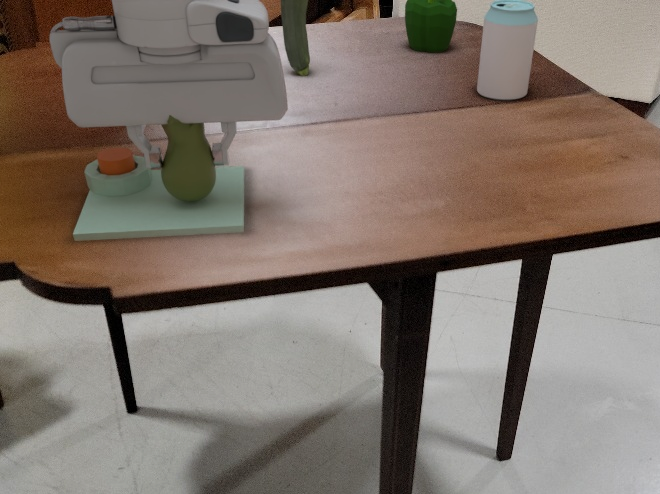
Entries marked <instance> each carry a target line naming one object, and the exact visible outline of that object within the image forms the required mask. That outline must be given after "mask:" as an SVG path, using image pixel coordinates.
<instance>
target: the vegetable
mask: <svg viewBox="0 0 660 494" xmlns="http://www.w3.org/2000/svg"><path fill="white" fill-rule="evenodd" d="M308 3H309V0H280V16H281V17H280V18H281V25H282V36H283V45H284V49H285V53H286V57H287V61H288V63H289V66H290V67H291V69H293V70H294V71H295V72H296V74H299V75H300V76H301V77H305V76H308V74H309V71H310V63H311V56H310V55H311V54H310V49H309V39H308V31H307V9H308V5H309V4H308Z"/></svg>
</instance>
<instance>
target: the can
mask: <svg viewBox="0 0 660 494" xmlns="http://www.w3.org/2000/svg"><path fill="white" fill-rule="evenodd" d="M489 6H490V8H489V9H488V10H487V12H486V13H485V14H484V16H483V25H482V33H481V34H482V35H481V45H480V56H479V63H478V65H479V66H478V75H477V83H476V92H477V93H478V94H479V95H480V96H482V97H483V98H485V99H490V100H494V101H514V100H515V101H516V100H520V99H523V98H524V97H526V96H527V94H528V92H529V91H528V89H529V83H530V76H531V69H532V64H533V63H532V62H533V58H534V57H533V56H534V49H535V43H536V36H537V29H538V21H539V19H538V16H537V14H536V11H535V8H536V5H535V4H534V3H533V2H530V1H528V0H493V1H492V2H490V5H489Z"/></svg>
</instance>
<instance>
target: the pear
mask: <svg viewBox="0 0 660 494" xmlns="http://www.w3.org/2000/svg"><path fill="white" fill-rule="evenodd" d="M167 123H168V124H164V125H161V127H162V130H163V132H164V133H165V135H166V137H167V146H166V150H165V153H164V156H163V164H162V168H160V170H161V178H162V182H163V184H164V186H165V188H166V190H167V191H168V192H169V193H170V194H171V195H172V196H173V197H175V198H176V199H179V200H182V201H187V202H192V201H198V200H201V199H203V198H204V197H206V196H207V195H208V194H209V193H210V192H211V191H212V189H213V187H214V185H215V181H216V169H215V167H216V166H214V163H213V159H214V157H213V155H212V148H211V144H210V142H209V140H208V139H207V136H206V132H205V130H206V129H205V123H191V124H185V123H182V122H180V121H179V120H178V119H175V118H174V117H172V116H171V115H169V119H168V121H167Z"/></svg>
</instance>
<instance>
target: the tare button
mask: <svg viewBox="0 0 660 494" xmlns="http://www.w3.org/2000/svg"><path fill="white" fill-rule="evenodd" d="M133 155H134V153H133V151H132V150H131V149H130V148H127V147H110V148H106V149H103V150H101V151H99V152H98V153H97V155H96V160H98V164H99V169H100V173H101V174H105V175H121V174H125V173H129V172H131V171H133V170H135V169H136V167H135V162H134V157H133Z"/></svg>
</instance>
